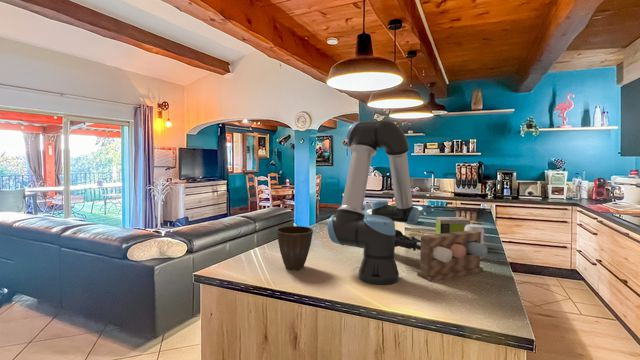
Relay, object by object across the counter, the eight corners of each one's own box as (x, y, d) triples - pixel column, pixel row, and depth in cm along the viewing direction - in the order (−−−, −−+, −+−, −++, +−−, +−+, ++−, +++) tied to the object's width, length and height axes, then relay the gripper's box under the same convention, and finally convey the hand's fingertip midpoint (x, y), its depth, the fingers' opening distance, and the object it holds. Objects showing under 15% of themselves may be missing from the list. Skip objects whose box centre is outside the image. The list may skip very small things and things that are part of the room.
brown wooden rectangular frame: (430, 281, 124) (431, 239, 123) (417, 275, 130) (418, 235, 129) (482, 271, 136) (484, 232, 135) (468, 266, 142) (469, 229, 141)
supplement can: (477, 255, 160) (478, 224, 159) (486, 260, 151) (487, 227, 150) (460, 255, 159) (461, 223, 158) (468, 260, 151) (469, 227, 150)
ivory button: (441, 263, 122) (442, 249, 121) (424, 256, 130) (424, 244, 130) (451, 261, 124) (452, 248, 124) (434, 255, 132) (434, 242, 132)
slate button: (478, 258, 129) (478, 245, 128) (459, 252, 137) (459, 240, 137) (487, 256, 131) (487, 244, 131) (468, 250, 139) (468, 238, 139)
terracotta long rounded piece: (456, 259, 127) (456, 246, 127) (438, 253, 135) (438, 240, 135) (465, 257, 129) (466, 244, 129) (447, 251, 137) (448, 239, 137)
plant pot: (317, 263, 144) (317, 227, 143) (306, 275, 130) (306, 234, 129) (284, 260, 148) (284, 225, 147) (270, 271, 134) (270, 232, 133)
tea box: (463, 243, 181) (464, 216, 180) (470, 248, 171) (471, 220, 170) (435, 242, 183) (435, 216, 182) (439, 247, 173) (440, 219, 172)
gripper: (402, 243, 155) (441, 257, 134) (379, 246, 150) (416, 261, 129) (403, 227, 155) (442, 238, 134) (380, 229, 149) (416, 241, 128)
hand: (429, 249), depth 131 cm, fingers closed
